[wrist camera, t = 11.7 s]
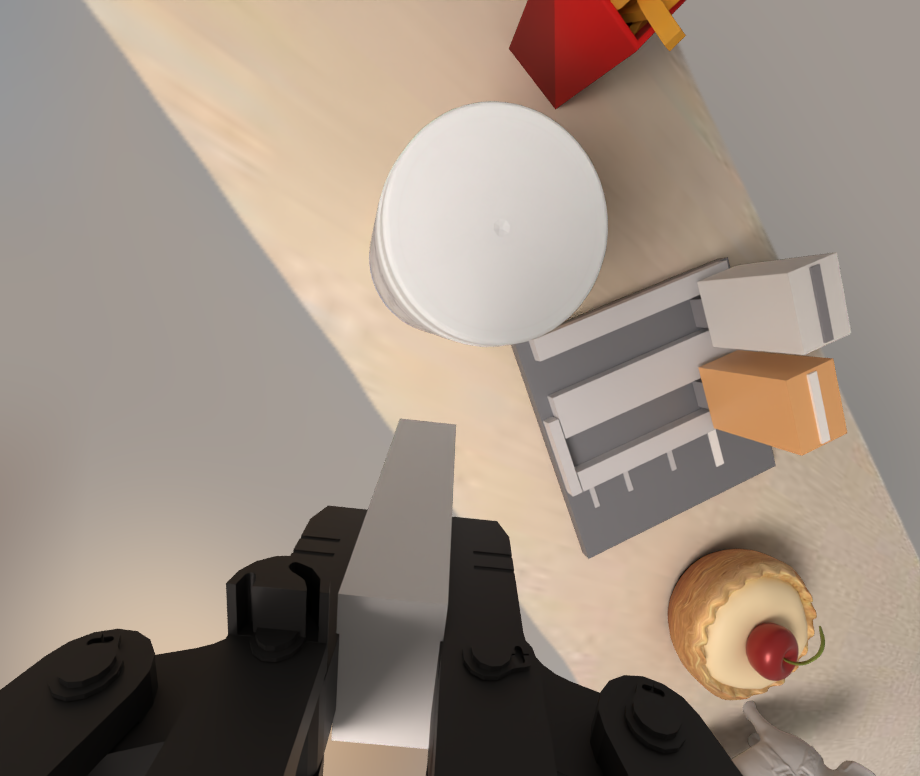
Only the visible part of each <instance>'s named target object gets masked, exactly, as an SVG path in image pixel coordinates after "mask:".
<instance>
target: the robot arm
mask: <svg viewBox="0 0 920 776" xmlns="http://www.w3.org/2000/svg"><path fill="white" fill-rule="evenodd" d="M455 437H456V425H455V424H445V423H436V422H427V421H418V420H408V419H400V420H399V423H398V426H397V428H396V431H395V434H394V437H393V440H392V443H391V445H390V448H389V451H388V454H387V457H386V460H385V462H384V465H383V468H382V471H381V474H380V477H379V480H378V482H377V485H376V488H375V491H374V494H373V496H372V499H371V502H370V505H369V508H368V510H365V509H356V508H345V507H336V506H327V507H326V508H324V509H323V510H322V511H320V512H319V513H318V514H316V515H315V516H314V517H312V518H311V519H310V521H309V523H308V524H307V526H306V528H305V530H304V532H303V534H302V536H301V539H299V541H298V543H297V545H296V546H295V548H294V552H293V553H292V554H291V556H275V557H271V558H267V559H263V560H260V561H256V562H254V563H252V564H250V565H249V566H246V567H245V568H243V569H241V570H239V571H238V572H237V573H236V574H235V575H234V576H233V577H232V578H231V579H230V580H229V581H228V582H227V583H226V591H227V592H226V593H227V614H228V615H227V616H228V636H227V637H226V639H224V640H222V641H219V642H217V643H215V644H211V645H207V646H203V647H199V648H194V649H188V650H182V651H177V652H171V653H164V654H159V655H155V652H154V649H153V646H152V644H151V641H150V639H148V638H147V637H145V636H144V635H142V634H141V633H139V632H138V631H131V630H123V629H114V630H107V631H101V632H94V633H91V634H89V635H86V636H83V637H81V638H78V639H75V640H72V641H70V642H68V643H66V644H65V645H63V646H61V647H60V648H58V649H56V650H55V651H53V652H52V653H50V654H48V655H46V656H45V657H44V658H42V659H41V660H40V661H38V662H37V663H36V664H34V665H33V666H32V667H30V668H29V669H27V670H26V671H25V672H23V673H22V674H21V675H20V676H18V677H17V678H16V679H14V680H13V681H12V682H10V683H9V684H8V685H6V686H5V687H4V688H2V689H1V690H0V776H323V765H324V764H323V763H324V751H325V748H326V744H327V741H328V737H329V733H330V730H331V726H332V740H335V741H346V742H357V743H368V744H379V745H390V746H401V747H413V748H423V749H428V763H427V771H426V776H743V775H742V774H741V772H740V771H739V769H738V768H737V767H736V765H735V764H734V763H733V761H732V760H731V758H730V757H729V756H728V754H727V753H726V751H725V750H724V749H723V747H722V746H721V745H720V743H719V742H718V740H717V739H716V738H715V736H714V735H713V733H712V732H711V731H710V729H709V728H708V727H707V725H706V724H705V722H704V721H703V720H702V718H701V717H700V715H699V714H698V713H697V712H696V711H695V710H694V709H693V708H692V707H691V706H690V705H689V704H688V702H687V701H686V700H685V699H684V698H683V697H682V696H680V695H679V694H677V693H676V692H674V691H673V690H671V689H670V688H668V687H667V686H665V685H664V684H662V683H659V682H657V681H654V680H651V679H648V678H646V677H643V676H628V675H624V676H621V677H618V678H615V679H613V680H610V681H609V682H608V683H607V684H606V686H605V687H604V688H603V690H602V691H601V692H600V693H599V692H596V691H594V690H591V689H589V688H586V687H583V686H581V685H578V684H576V683H573V682H571V681H568V680H566V679H564V678H562V677H560V676H558V675H556V674H554V673H553V672H552V671H551V670H549V669H548V668H547V667H545V666H544V665H543V664H542V663H541V662H540V661H539V660H538V659H537V658H536V656H535V654H534V651H533V649H532V647H531V646H530V645H529V644H528V643H527V642H526V640H525V637H524V633H523V628H522V621H521V614H520V608H519V601H518V594H517V587H516V581H515V574H514V567H513V560H512V558H511V556H512V553H511V547H510V540H509V536H508V535H507V534H506V532H505V531H504V530H503V528H502V527H501V526H500V525H499V523H498V522H497V521H489V520H479V519H470V518H460V517H452V503H453V481H454V459H455Z"/></svg>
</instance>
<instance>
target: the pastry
mask: <svg viewBox="0 0 920 776" xmlns="http://www.w3.org/2000/svg"><path fill="white" fill-rule="evenodd" d="M811 602H813V599H812V596H811V594H810V593H809V591H808V590H807V588H806V587H805V584H804V582H803V580H802V579H801V577H800V576H799V575H798V574H797V572H796V571H795V570H794V569H793V568H792V567H790V566H789V565H787V564H786V563H784V562H782V561H779V560H777V559H775V558H773V557H771V556H769V555H766V554H763V553H760V552H757V551H754V550H746V549H728V550H722V551H717V552H714V553H711V554H708V555H706V556H704V557H702V558H701V559H699V560H697V561H696V562H695V563H694V564H692V565H691V566H690V567H689V568H688V569H687V570H686V571H685V573H684V574H683V575H682V576H681V578H680V579H679V580H678V582H677V584H676V586H675V588H674V590H673V593H672V595H671V598H670V602H669V608H668V623H669V630H670V636H671V640H672V643H673V646H674V648H675V650H676V652H677V654H678V656H679V658H680V660H681V662H682V663H683V665H684V666H685V667H686V669H687V670H688V671H689V672H690V674H691V675H692V676H693V677H694V678H695V679H696V680H697V681H698V682H700V683H701V684H702V685H703V686H704V687H705V688H706V689H707V690H708V691H710V692H711V693H712V694H714V695H715V696H717V697H720V698H721V699H724V700H741V699H747V698H750V697H751V696H752V695H757V694H763V693H765V692H767V691H768V689H769V687H772V686H777V685H778V686H780V685H782V684H783V683H784V682H785V678H786V677H788V676H789V675H790V674H791V672H795V671H796V669H797V668H798V667H799V666H798V665H806V664H809V663H811V662H813V661H814V660H816V659H817V658H818V657H820V655H821V654H822V652H823V650H824V647H825V638H824V634H823V631H822V628H821V626H819V631H820V638H821V645H820V649H819V651H818V653H817V654H816V655H815V656H814V657H812V658H811V659H809V660H807V661H804V662H798V661H799V659H800V658H801V657H802V656H804V655H806V653H807V651H808V640H809V638H810V637H813V636H814V627H813V619H814V618H816V617H817V615H816V611H815V609H814V607H813V605H812V603H811Z"/></svg>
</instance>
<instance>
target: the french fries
mask: <svg viewBox="0 0 920 776" xmlns="http://www.w3.org/2000/svg"><path fill="white" fill-rule="evenodd" d="M685 1H686V0H528V1H527V4H526V6H525V9H524V11H523V14H522V16H521V19H520V22H519V24H518V27H517V29H516V32H515V34H514V37H513V39H512V42H511V45H510V47H509V49H510V51H511V52H512V53H513V55H514V56H515V57H516V59H517V60H518V61H519V62H520V64H521V65H522V66H523V68H524V69H525V70H526V72H527V73H528V74H529V75H530V77H531V78H532V79H533V81H534V82H535V83H536V85H537V86H538V87H539V88H540V90H541V91H542V92H543V94H544V95H545V96H546V98H547V99H548V100H549V101H550V103H551V104H552V105H553V107H554V108H555V109H556V108H558V107H559V106H561V105H562V104H563V103H565V102H566V101H568V100H569V99H570V98H572V97H573V96H575V95H576V94H577V93H579V92H580V91H582V90H583V89H584V88H586V87H587V86H589V85H590V84H591V83H593V82H594V81H596V80H597V79H598V78H600V77H601V76H603V75H604V74H605V73H607V72H608V71H610V70H611V69H612V68H614V67H615V66H617V65H618V64H619V63H621V62H622V61H624V60H625V59H626V58H628V57H629V56H630V55H632V54H633V53H635V52H636V51H637V50H638V49H639V48H640V47H641V46H642V45H643V44H644V43H645V42H646V41H647V40H648V39H649V38H650V37H651V36H652V35H653V34H654V33H655V32H656V34H657V35H658V37H659V38H660V40H661V41H662V43H663V44H664V46H665V47H666V48H667V49H668V50H669V51H671V50H672V49H673V48H674V47H675V46H676V45H677V44H678V43H679V42H680V41H681V40H682V39H683V38H684V37H685V34H684V32H683V31H682V30H681V28H680V27H679V25H678V24H677V22H676V21H675V20H674V18H673V17H672V14H673V13H674V12H675V11H676V10H677V9H678V8H679V7H680V6H681V5H682V4H683V3H684V2H685Z"/></svg>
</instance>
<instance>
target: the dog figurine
mask: <svg viewBox="0 0 920 776" xmlns="http://www.w3.org/2000/svg"><path fill="white" fill-rule="evenodd" d="M743 712H744V714H745V715H746V719H748V720H750V721H751V723H752V724H753V726H754V727H755V730H756V732H757V733H758V734H757V733H753V734H751V735H750V736H749V738H748V744H749V745H750V748H749V749H747V750H746V751H744V752H742V753H741V754H739V755H737V756H736V757H734V758H732V759H731V760H732V761H733V763H734V764H735V765H736V767H737V768H738V769H739V771H740V772H741V774H742V775H743V776H876V775H875V774H874V773H873V772H872V771H870V770H869V769H867V768H866V767H864V766H862V765H861V764H859V763H857V762H854V761H844V762H843V763H842V764H841V765H840V766H839V767H838V768H837V769H835V770H832V769H829V768H828V767H827V766H826V765H825V764H824V761H823V758H822V757H821V755H820V754H819V753H818V752H817V751H816V750H815V749H814V748H813V747H812V746H810V745H809V744H807V743H806V742H805V741H803V740H802V739H800V738H798V737H796V736H794V735H792V734H789V733H786V732H783V731H781V730H779V729H777V728H776V727H774V726H773V725H772V724H770V723H769V722H768V721H766V720H765V719H764V718H763V716H762V715H761V714H760V713H759V712H758V711H757V709H756V704H755V703H754V701H747V702H746V703H745V704H744V705H743Z"/></svg>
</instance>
